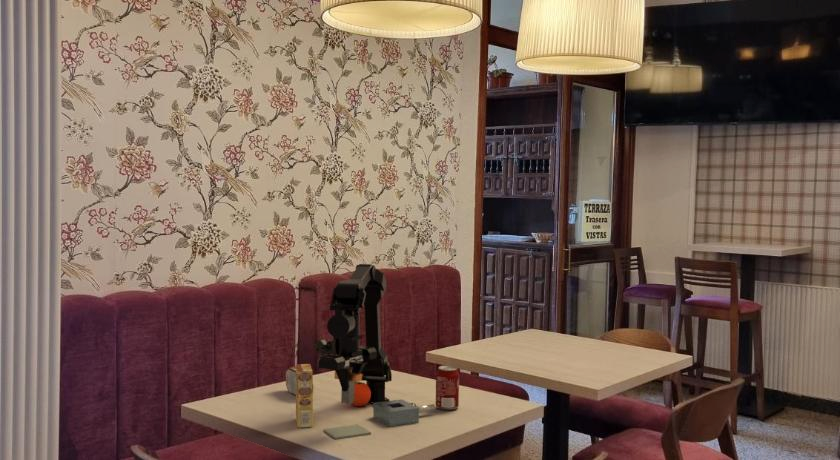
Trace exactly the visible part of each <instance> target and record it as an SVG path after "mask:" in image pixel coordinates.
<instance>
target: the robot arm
mask: <svg viewBox="0 0 840 460" xmlns="http://www.w3.org/2000/svg"><path fill="white" fill-rule="evenodd" d="M386 289H387V279H386V277H385V274H384V272H382V271H380V270H379V269H377V268H376V266H375V265H374V264H371V263H369V264H368V263H359V264H356V267H355V270H354V271H353V272H352V274H351V275H350V276H349V277H348V279H344V280H340V281H338V283H336V285H335V286H334V287H333V291H332V296H331V301H330V307H329V311H334V315H332V316H331V317H330V318H329V320H327V324H326V328H327V331H328V333H329V334H330V336H332V340H331V341H330V340H329V341H326V340H325V339H320V340H317V341H315V352H316V353H317V354H320V357H318V359H317V368H319V369H325V370H331V371H334V373H335V372H336V373H337V376H338V378H339V379H338V382H339V384H340V387H341V391H342V390H343V391H345V392H346V391H347V389H348V385H349V381H350V377H351V373H352V372H355V373H361V374H362V381H361V382H363V381H365V384H366V385H368V387H369V388H370V390H371V398H370V400H369V402H368V403H369V404H374V403H377V402H385V401H390V398H388V397H386V383H388V382H391V381H392V379H393V377H392V376H393V375H392V374H393V373H392V369H391V366H390V362H389V361H388V354H387V353H386V351H385V350H384V348H383V347H382V338H381V337H382V334H381V333H382V331H381V309H380V307H381V306H380V304H381V303H380V301H381V300H382V298H383V296H384V295H385V292H386ZM363 308H364V310H363V311H364V327H365V329H364V331H365V345H360V340H362V339H363V338H364V337H363V334H362V333H360V324H361V323H360V322H361V321H360V320H361V319H360V316H361V315H360V311H361V310H362V309H363ZM355 384H356V382H355ZM354 386H355V385H354Z"/></svg>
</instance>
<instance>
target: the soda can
mask: <svg viewBox="0 0 840 460" xmlns="http://www.w3.org/2000/svg"><path fill="white" fill-rule="evenodd" d="M459 394H460V373H459V371H458V367H456V366H453V365H440V366H438V370H437V371H436V374H435V408H438V410H442V411H453V410H456V409H458V408H459V403H460V401H459V398H460V397H459V396H460V395H459Z"/></svg>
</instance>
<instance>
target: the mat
mask: <svg viewBox="0 0 840 460" xmlns="http://www.w3.org/2000/svg"><path fill="white" fill-rule="evenodd" d="M323 432H324V433H326V434H327V435H328V436H330V437H331V438H333V439H334V440H341V439H347V438H353V437H361V436H367V435H372V432H371V431H370V430H368V429H366V428H365V427H364V426H361V425H360V424H358V423H357V424H349V425H344V426H337V427H336V426H335V427H329V428H323Z"/></svg>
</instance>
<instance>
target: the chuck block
mask: <svg viewBox="0 0 840 460" xmlns="http://www.w3.org/2000/svg"><path fill="white" fill-rule="evenodd" d="M435 410H436V404H434V403H433V404H425V405H418V406H417V404H416V403H415V402H411V403H410V402H408V401H406V400H404V399H395V400H389V401H385V402H377V403H373V410H372V412H373V418H374V419H376V420H378V421H380V422H381V423H383V424H385V425H386V426H388V427H395V426H402V425H409V424H416V423H419V422H420V415H419V414H420V413H427V412H433V411H435Z"/></svg>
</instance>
